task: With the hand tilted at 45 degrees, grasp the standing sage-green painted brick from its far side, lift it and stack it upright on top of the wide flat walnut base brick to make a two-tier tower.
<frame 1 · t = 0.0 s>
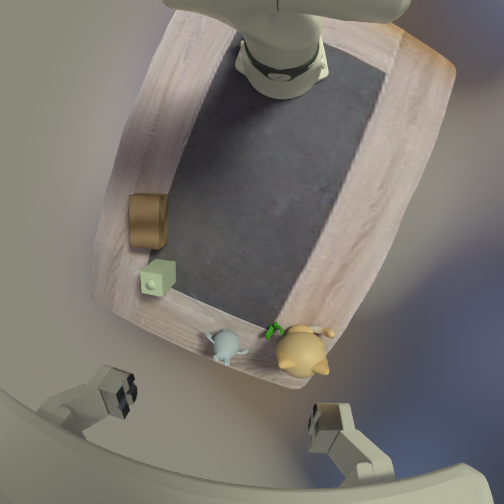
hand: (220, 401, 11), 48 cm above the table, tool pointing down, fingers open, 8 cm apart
green brick: (165, 270, 63), on the table
base brick: (153, 217, 59), on the table
kitten: (297, 332, 64), on the table
toy figure: (230, 331, 66), on the table
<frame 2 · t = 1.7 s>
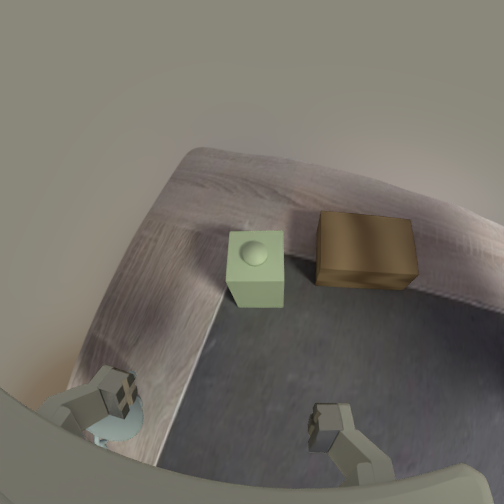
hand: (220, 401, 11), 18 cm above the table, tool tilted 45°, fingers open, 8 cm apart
green brick: (261, 286, 32), on the table
base brick: (359, 261, 32), on the table
toy figure: (135, 411, 26), on the table
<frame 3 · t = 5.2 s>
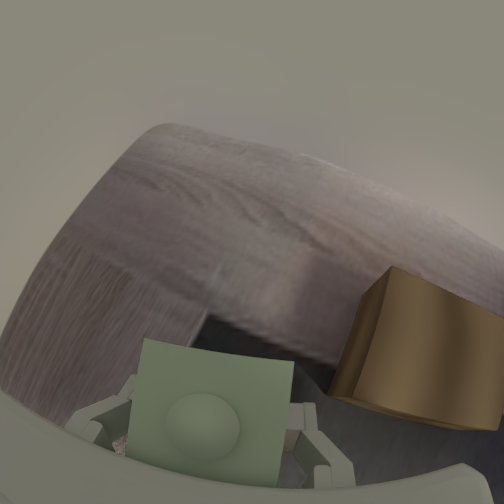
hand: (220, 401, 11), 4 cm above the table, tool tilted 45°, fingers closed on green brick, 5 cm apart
green brick: (227, 407, 14), on the table, touching gripper
base brick: (413, 369, 15), on the table
when the fingers open (11 cm above the table, at t = 9.6 s): green brick drops 1 cm, resting on base brick.
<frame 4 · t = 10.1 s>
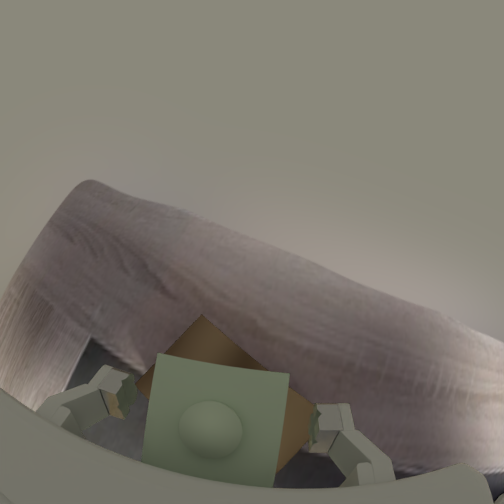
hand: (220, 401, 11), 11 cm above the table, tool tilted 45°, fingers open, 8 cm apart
green brick: (230, 409, 16), point 5 cm above the table, touching base brick
base brick: (233, 402, 20), on the table, touching green brick
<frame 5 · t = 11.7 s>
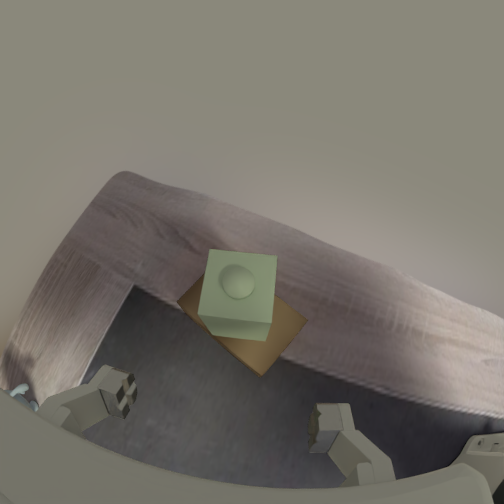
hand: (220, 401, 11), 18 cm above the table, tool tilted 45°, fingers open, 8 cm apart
green brick: (242, 313, 27), point 5 cm above the table, touching base brick
base brick: (242, 323, 31), on the table, touching green brick
toy figure: (35, 414, 23), on the table
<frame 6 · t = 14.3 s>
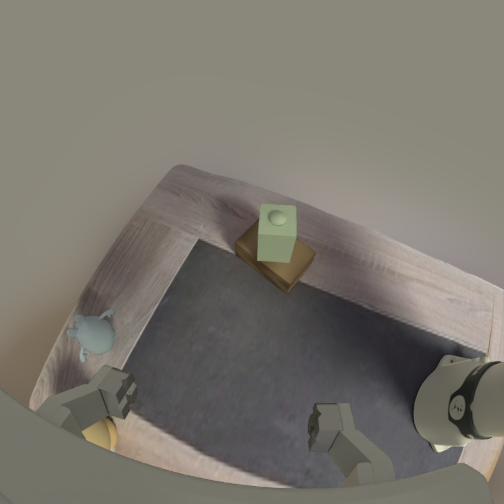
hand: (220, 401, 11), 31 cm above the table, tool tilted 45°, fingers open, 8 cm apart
green brick: (273, 247, 45), point 5 cm above the table, touching base brick
base brick: (273, 260, 49), on the table, touching green brick
kitten: (105, 429, 35), on the table
toy figure: (110, 341, 42), on the table
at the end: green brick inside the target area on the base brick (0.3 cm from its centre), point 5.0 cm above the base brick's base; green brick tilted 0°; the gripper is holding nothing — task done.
